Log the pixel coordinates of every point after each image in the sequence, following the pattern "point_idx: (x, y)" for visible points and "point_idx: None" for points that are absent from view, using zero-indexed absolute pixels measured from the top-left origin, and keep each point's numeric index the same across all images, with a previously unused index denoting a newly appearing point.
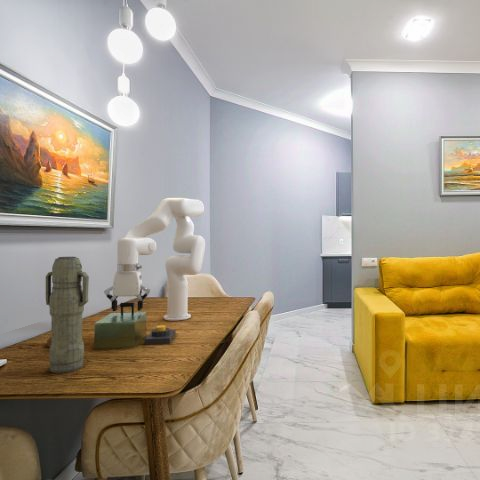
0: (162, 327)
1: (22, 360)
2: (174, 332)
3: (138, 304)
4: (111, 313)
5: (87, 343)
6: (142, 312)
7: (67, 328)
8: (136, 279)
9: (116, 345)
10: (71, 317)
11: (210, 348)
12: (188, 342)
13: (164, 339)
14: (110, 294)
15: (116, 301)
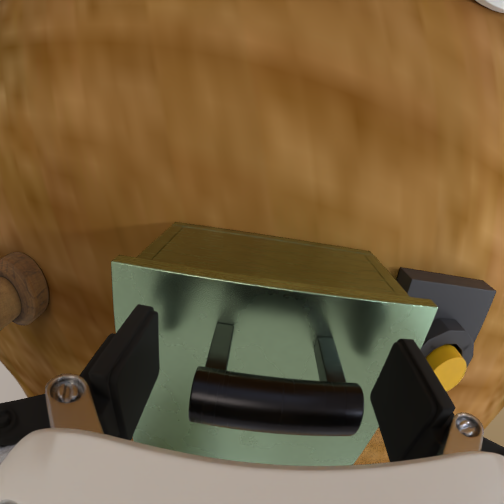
0: (446, 391)
1: (37, 392)
2: (482, 316)
3: (390, 443)
4: (121, 285)
5: (110, 304)
6: (405, 317)
7: None
8: None
9: None
10: None
11: (489, 423)
12: (479, 380)
13: None
14: (9, 447)
15: (122, 400)
